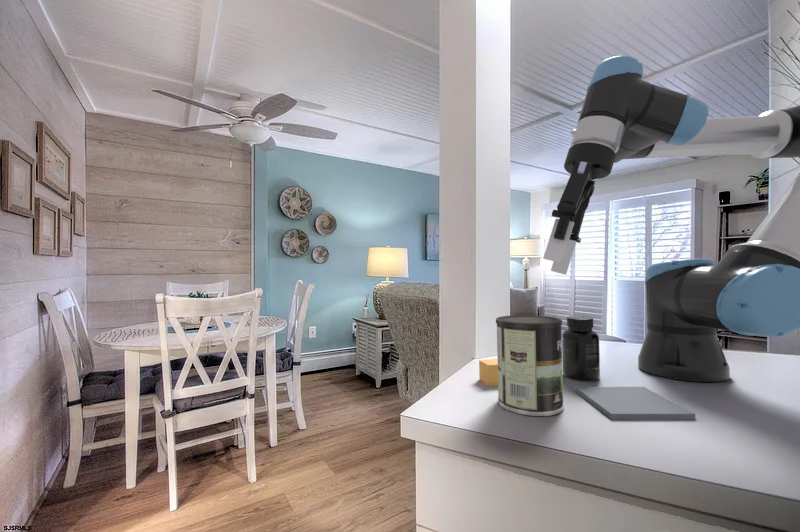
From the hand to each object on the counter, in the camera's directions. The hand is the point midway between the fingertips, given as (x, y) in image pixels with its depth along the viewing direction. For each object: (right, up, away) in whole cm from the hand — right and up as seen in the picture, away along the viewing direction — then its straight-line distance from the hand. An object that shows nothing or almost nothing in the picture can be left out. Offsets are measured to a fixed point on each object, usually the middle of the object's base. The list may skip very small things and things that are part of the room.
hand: (555, 267), depth 63 cm
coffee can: (-5, -23, -3) cm, 24 cm away
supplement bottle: (+10, -23, +12) cm, 27 cm away
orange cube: (-8, -23, +9) cm, 26 cm away
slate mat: (+11, -22, -3) cm, 25 cm away
